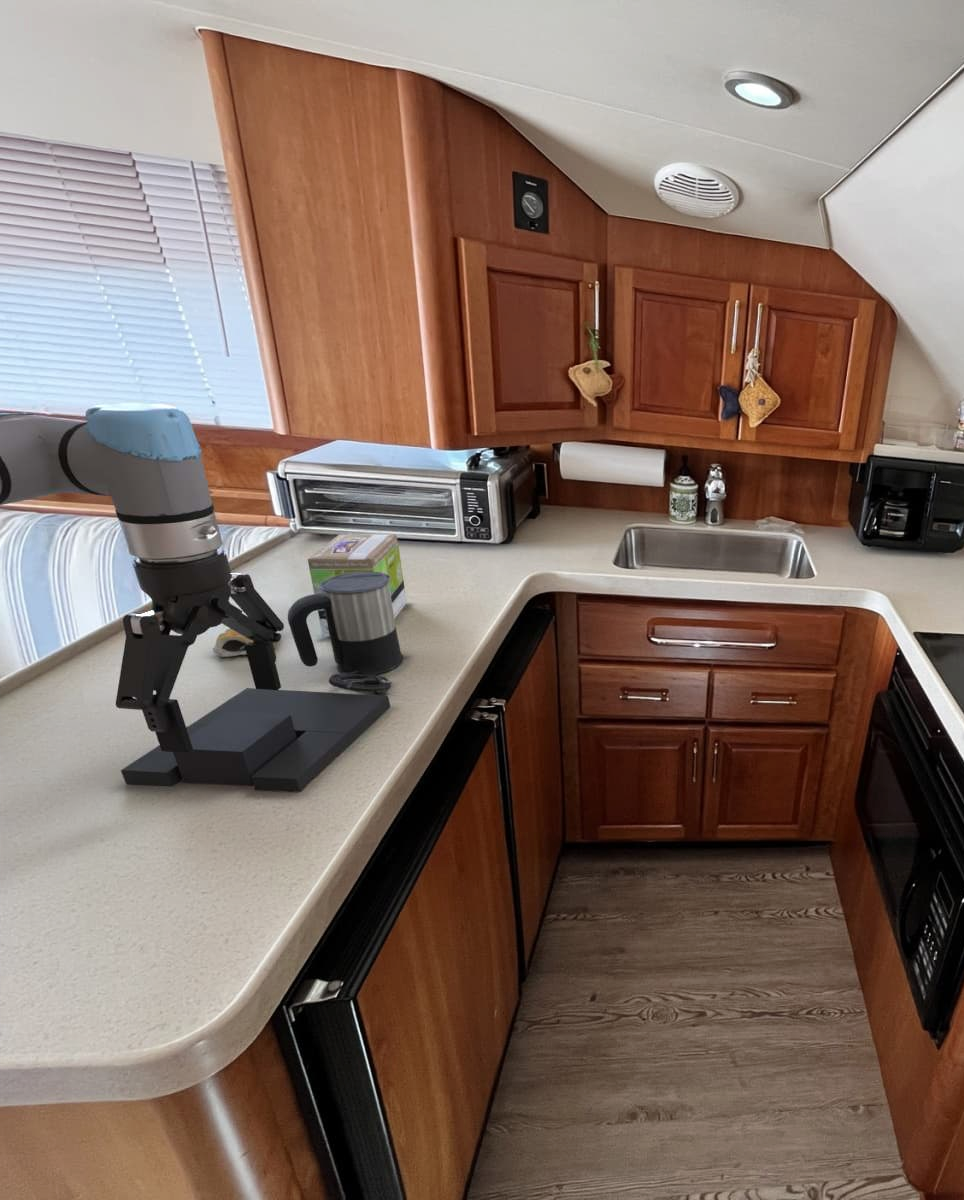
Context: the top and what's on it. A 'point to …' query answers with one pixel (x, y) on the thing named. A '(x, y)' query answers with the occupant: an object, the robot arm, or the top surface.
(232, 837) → the top surface
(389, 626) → the milk frother
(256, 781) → the dark notched slab
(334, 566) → the tea box
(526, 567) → the top surface
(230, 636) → the pastry
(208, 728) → the black block
